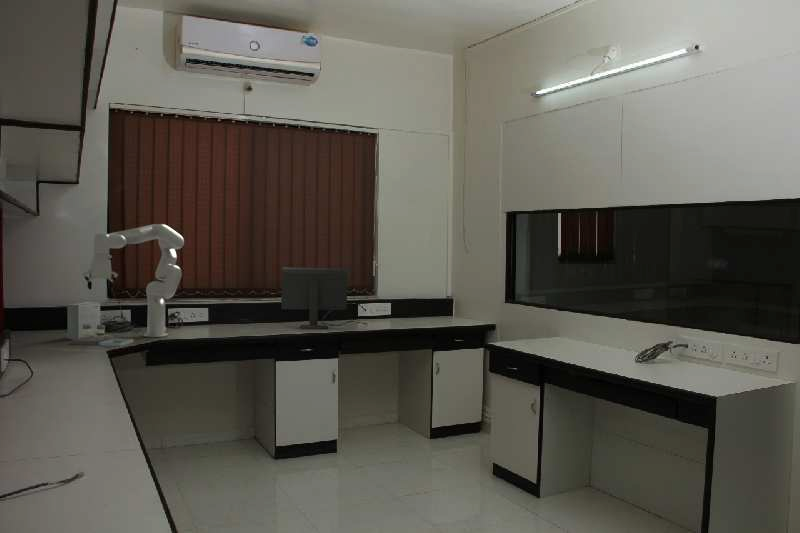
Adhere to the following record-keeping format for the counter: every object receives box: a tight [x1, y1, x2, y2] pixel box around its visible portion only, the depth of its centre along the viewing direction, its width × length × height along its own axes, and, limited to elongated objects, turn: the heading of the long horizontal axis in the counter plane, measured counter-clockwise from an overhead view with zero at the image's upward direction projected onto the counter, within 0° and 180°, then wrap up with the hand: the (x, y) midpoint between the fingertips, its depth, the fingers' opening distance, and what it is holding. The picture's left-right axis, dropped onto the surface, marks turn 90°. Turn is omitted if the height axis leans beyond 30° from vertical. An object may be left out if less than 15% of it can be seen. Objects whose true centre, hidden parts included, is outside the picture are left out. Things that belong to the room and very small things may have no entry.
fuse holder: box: [70, 334, 116, 346], centre depth 326 cm, size 16×15×4 cm
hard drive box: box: [67, 301, 101, 340], centre depth 341 cm, size 16×8×20 cm, turn 160°
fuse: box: [83, 325, 91, 339], centre depth 326 cm, size 4×4×9 cm
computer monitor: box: [280, 266, 349, 330], centre depth 417 cm, size 44×16×40 cm, turn 94°
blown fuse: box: [97, 324, 106, 340], centre depth 325 cm, size 4×4×9 cm
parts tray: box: [98, 338, 134, 347], centre depth 323 cm, size 14×11×2 cm
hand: (99, 289), depth 329 cm, fingers open, 9 cm apart
